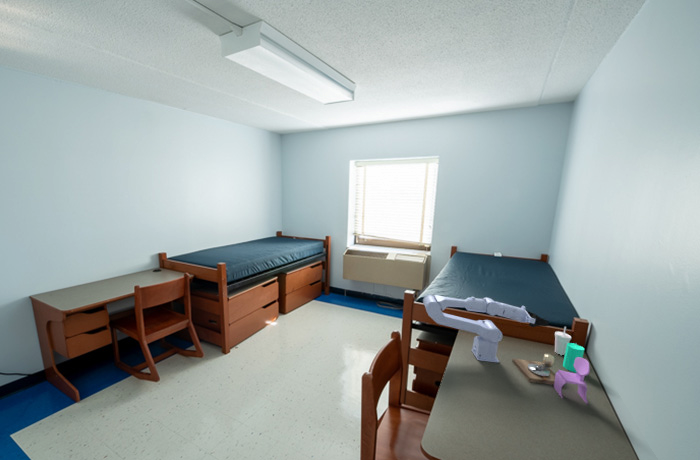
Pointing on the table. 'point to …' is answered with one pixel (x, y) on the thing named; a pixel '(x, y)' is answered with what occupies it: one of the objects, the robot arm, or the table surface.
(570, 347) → the candle
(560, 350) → the smoothie
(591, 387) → the table surface
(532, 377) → the stand
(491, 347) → the robot arm
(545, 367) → the crank dial
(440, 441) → the table surface
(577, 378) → the chair
